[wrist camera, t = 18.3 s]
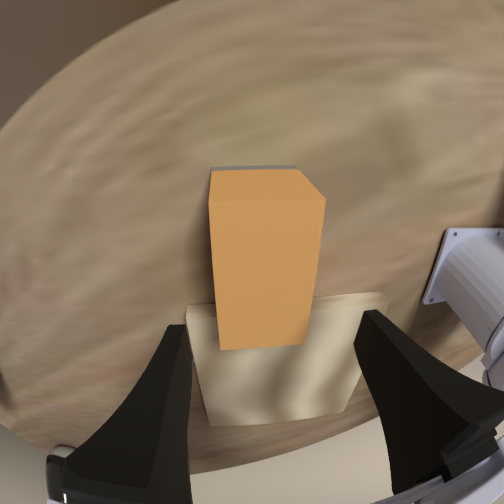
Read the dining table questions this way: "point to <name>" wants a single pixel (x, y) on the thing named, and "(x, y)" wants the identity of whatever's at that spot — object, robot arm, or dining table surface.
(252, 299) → the block
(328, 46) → the dining table surface
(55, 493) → the black egg shaped device
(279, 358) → the board
